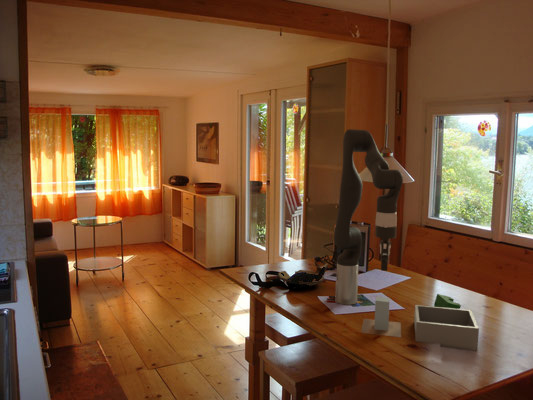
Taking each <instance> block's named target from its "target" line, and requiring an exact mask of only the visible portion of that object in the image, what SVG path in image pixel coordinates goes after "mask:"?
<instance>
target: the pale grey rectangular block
mask: <svg viewBox="0 0 533 400" xmlns="http://www.w3.org/2000/svg"><path fill="white" fill-rule="evenodd" d="M390 299H391V298H390V297H387V296H375V302H374V303H375V304H374V320H375V325H374V329H376V330H385V331H388V325H389V319H390Z"/></svg>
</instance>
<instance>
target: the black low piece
mask: <svg viewBox="0 0 533 400" xmlns="http://www.w3.org/2000/svg"><path fill="white" fill-rule="evenodd" d="M328 266H329V264H328V263H324V264H323V265H321V266H319V265H317V266H316V270H315V271H311V270H306V269H305V270H304V269H299V270H297V271H296V270H295V271H294V275H295V274H296V273H299V272H306V273H309V274H315V275H318V274H319V272H320V271H321V269H322V268H323V267H325V270H326V269H327V268H328ZM281 273H283V274H284V276H283V275H282V274H281ZM277 276H278V279H279V280H280V281H283V282H286V283H287V282H290V281H291V280H288V279H289V278H290V277H292V276H290V275H289V273H288V272H287V271H286V270H281V271H279V272H278V274H277ZM324 280H325V277H324V275H322V278H321V279H320V280H319V281H312V282H303V281H298V282H299V284H307V285H309V286H308V287H310V286H311V287H312V286H316V285H318V284H320V283H322V282H324Z"/></svg>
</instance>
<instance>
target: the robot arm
mask: <svg viewBox="0 0 533 400" xmlns="http://www.w3.org/2000/svg"><path fill="white" fill-rule="evenodd" d="M342 139H343V140H342V168H341V170H342V171H341V177H340V178H341V180H340V187H339V201H338V202H339V203H338V208H337V209H338V210H337V217H336V221H335V226H334V231H333V242H334V246H335V247H336V248H337V249H338V250H341V251H342V253H340V254H339V255H338V256H337V258H336V280H335V294H334V295H335V299H334V301H335V303H337V304H341V305H347V306H348V305H355V304H357V303H358V286H359V284H358V283H359V282H358V281H359V262H360V258H361V254H362V252H361V251H362V241H363V240H362V233H361V231H360V229H359V228H357V227H356V226H351V221H352V218H353V215H354V214H355V212H356V210H357V208H358V207H359V205H360V203H361V200H362V194H363V186H364V185H363V180H362V178H361V175H360V174H359V172H358V170H357V168H356V166H355V163H354V152H355V153H365V157H364V164H365V166H366V168H367V169H368V171H369V172H370V174H371V177H372V184H373V186H374V187H375V188H376V189H379V190H388V192H387V193H385V194H382V195H379V196H378V197H377V198H376V215H375V229H374V236H375V237H376V238H379V239H381V240H380V241H379V255H380V261H381V264H380V270H381V271H384V272H386V271H387V272H388V264H389V263H388V262H389V256H390V254H391V247H392V241H390V239H396V238H397V228H398V226H397V223H398V216H397V208H398V207H397V206H398V199H399V195H400V192H401V189H402V186H403V184H404V175H403V174H402V171H400V170H399V169H390V166H389V163H388V161H386V160H385V158H384V157H383V155H382V154H381V153H380V151H379V149H378V147H377V143H376V142H375V140H374V137H373V135H372V134H371V132H370V131H369V130H365V129H347V130H345V132H344V134H343V138H342Z"/></svg>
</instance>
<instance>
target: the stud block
mask: <svg viewBox="0 0 533 400" xmlns="http://www.w3.org/2000/svg"><path fill="white" fill-rule="evenodd" d="M374 325H375V319H371V318H370V319H369V318H363V321H362V326H361V333H362V334H370V335H378V336H388V337H394V338H395V337H396V338H401V337H402V323H401V322H398V321H397V322H396V321H389V325H388V331H385V330H376V329H374Z"/></svg>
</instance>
